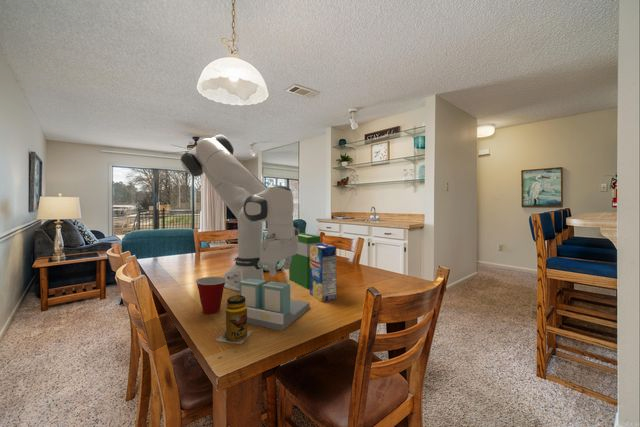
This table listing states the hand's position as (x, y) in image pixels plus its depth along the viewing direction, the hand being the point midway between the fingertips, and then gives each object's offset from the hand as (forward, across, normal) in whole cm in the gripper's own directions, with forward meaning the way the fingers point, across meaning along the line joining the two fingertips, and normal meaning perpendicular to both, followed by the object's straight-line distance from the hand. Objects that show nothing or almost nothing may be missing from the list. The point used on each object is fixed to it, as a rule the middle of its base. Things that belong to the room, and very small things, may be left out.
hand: (280, 272), depth 92 cm
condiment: (+17, -16, +6) cm, 24 cm away
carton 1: (+14, -1, +11) cm, 18 cm away
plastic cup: (+17, -4, +27) cm, 32 cm away
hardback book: (+16, +40, +9) cm, 44 cm away
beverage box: (+16, +25, -6) cm, 31 cm away
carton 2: (+14, -1, +1) cm, 14 cm away
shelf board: (+16, +3, +4) cm, 17 cm away
